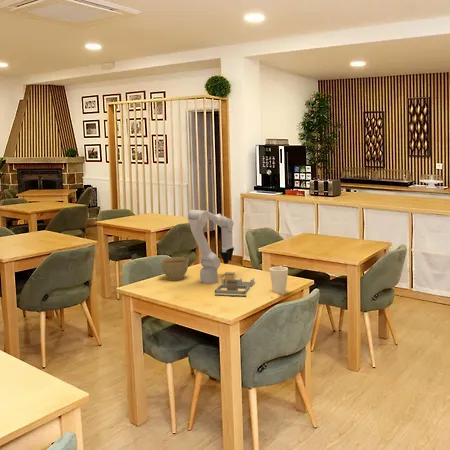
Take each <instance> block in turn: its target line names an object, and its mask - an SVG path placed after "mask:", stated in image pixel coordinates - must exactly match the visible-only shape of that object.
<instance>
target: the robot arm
mask: <svg viewBox="0 0 450 450" xmlns="http://www.w3.org/2000/svg"><path fill="white" fill-rule="evenodd" d="M186 219H187V221H188V223H189V226H190V231H191V233H192V236H193V238H194V240H195V242H196V244H197V247H198V249H199V251H200V254H201V255H200V257H199V260H200V265H201V266H202V268H201V269H200V271H199V278H200V279H199V282H200V283H202V284H215V283H216V284H217V283H218V281H219V278H218V277H219V274H218V273H219V272H218V270H219V268H220V266H221V259H220V258H219V257H218V256H217V254H216V253H214V252H213V251H212V249H211V247H210V245H209V242H208V240H207V238H206V236H205V232H204V231H203V228H205V226H206V224H207V221H208V220H210V221H212V223H213V224H214V225H217V226H219V227H220V229H221V230H220V231H221V250H220V251H219V253H220V255H221V258H222V261H223V264H224V265H226V264H227V265H228V264H229V262H230V261H232V258H233V252H234V250H235V246H234V245H233V237H232V236H233V234H232V231H233V227H234V224H235V223H234V221H233V220H232V218H230V217H227V216H225V215H222V213H218V214H217V213H216V214H214V213H212V212H210V211H208V210H202V209H201V210H200V209H190V210H189V211H188V214H187V218H186Z"/></svg>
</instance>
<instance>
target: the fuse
mask: <svg viewBox="0 0 450 450" xmlns="http://www.w3.org/2000/svg"><path fill="white" fill-rule="evenodd" d="M224 277H225V284H227V281H228V280H234V279H235V278H236V272H233V271H231V272H229V271H226V272H224Z"/></svg>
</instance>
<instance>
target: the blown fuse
mask: <svg viewBox="0 0 450 450" xmlns="http://www.w3.org/2000/svg"><path fill="white" fill-rule="evenodd" d="M226 290H230V291H239V288H238V280H228V281H227V288H226Z"/></svg>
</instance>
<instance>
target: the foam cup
mask: <svg viewBox="0 0 450 450" xmlns="http://www.w3.org/2000/svg"><path fill="white" fill-rule="evenodd" d="M269 274H270V281H271V288H272V291H273V292H275V293H277V295H278V296H283V295H285V294H286V292H287V291H286V290H287V284H288V276H289V275H288V274H289V268H288V267H286V266H272V267H269Z"/></svg>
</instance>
